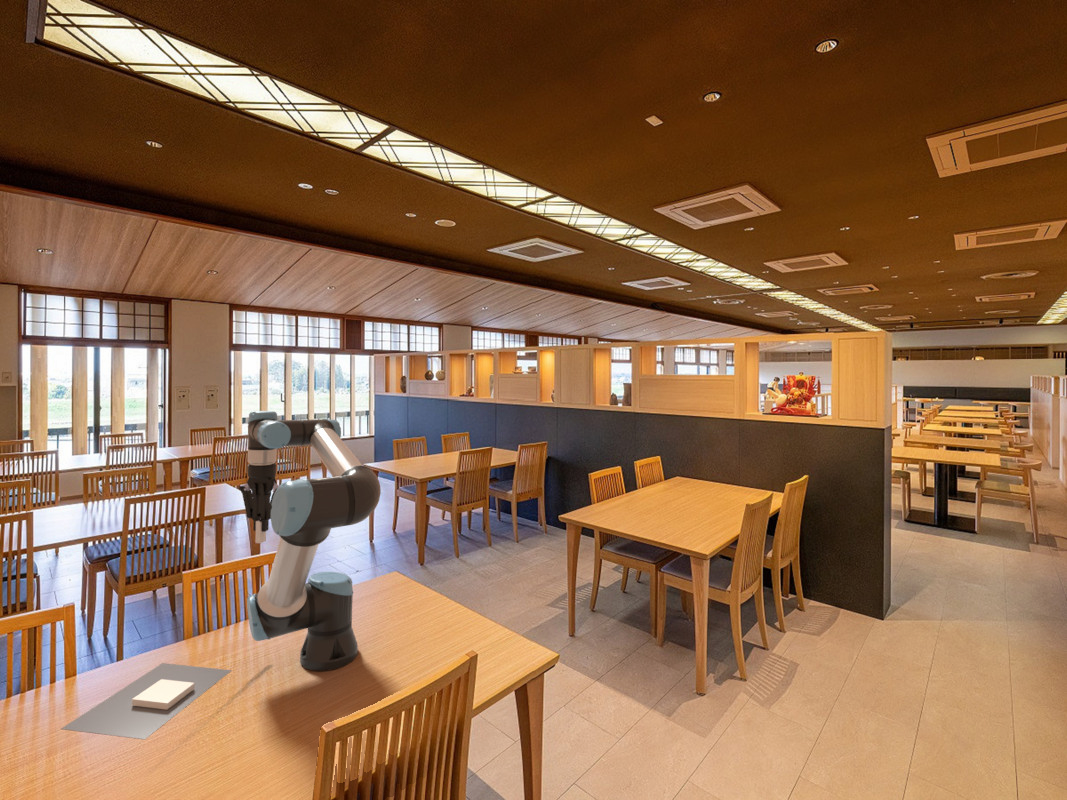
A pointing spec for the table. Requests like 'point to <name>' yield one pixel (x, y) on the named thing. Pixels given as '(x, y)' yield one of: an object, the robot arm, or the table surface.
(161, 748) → the table surface
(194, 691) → the slate board
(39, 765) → the table surface
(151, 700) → the tile
